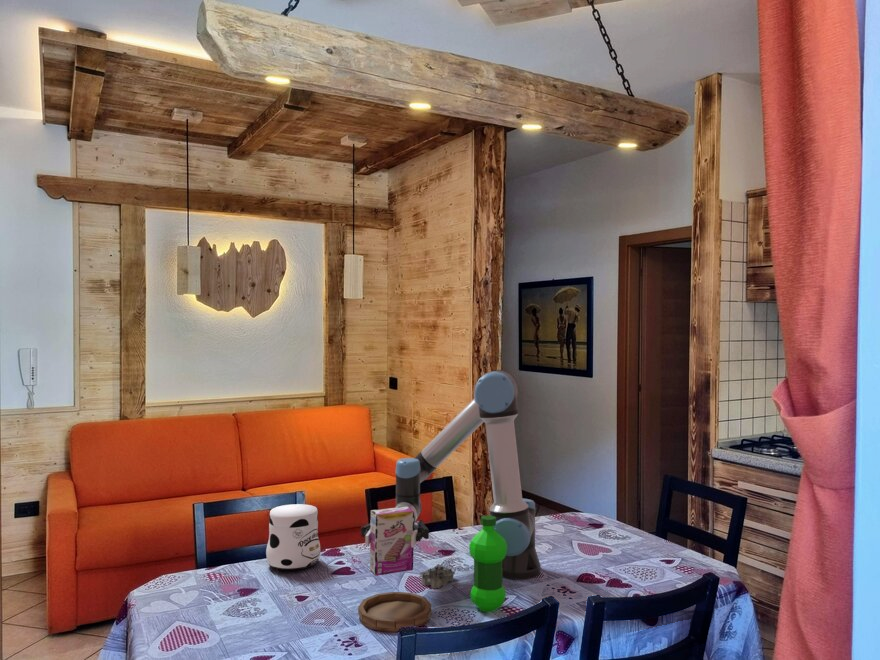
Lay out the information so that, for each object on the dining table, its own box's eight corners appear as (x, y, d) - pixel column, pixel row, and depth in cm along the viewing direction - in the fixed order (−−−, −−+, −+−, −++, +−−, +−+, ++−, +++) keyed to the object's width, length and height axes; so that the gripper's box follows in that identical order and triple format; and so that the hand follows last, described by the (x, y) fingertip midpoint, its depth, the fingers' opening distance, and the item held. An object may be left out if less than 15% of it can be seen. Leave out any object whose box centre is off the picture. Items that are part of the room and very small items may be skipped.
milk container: (321, 572, 211) (321, 515, 211) (265, 576, 208) (265, 518, 208) (319, 554, 228) (319, 502, 228) (267, 558, 225) (267, 504, 225)
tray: (436, 604, 187) (436, 594, 187) (422, 635, 168) (422, 623, 168) (370, 599, 190) (370, 589, 190) (349, 628, 171) (350, 617, 171)
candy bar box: (375, 577, 175) (375, 514, 175) (369, 571, 180) (369, 510, 180) (414, 570, 180) (414, 509, 180) (407, 564, 185) (407, 505, 185)
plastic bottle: (479, 597, 192) (479, 510, 192) (513, 605, 186) (513, 516, 186) (462, 610, 183) (463, 519, 183) (497, 618, 178) (497, 524, 178)
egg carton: (436, 590, 198) (436, 577, 198) (416, 584, 202) (416, 571, 202) (457, 580, 206) (457, 566, 206) (438, 574, 211) (438, 561, 211)
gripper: (442, 532, 197) (434, 557, 175) (363, 530, 199) (345, 554, 178) (442, 507, 197) (434, 528, 175) (363, 505, 199) (345, 526, 178)
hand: (389, 541), depth 176 cm, fingers closed on candy bar box, 12 cm apart
